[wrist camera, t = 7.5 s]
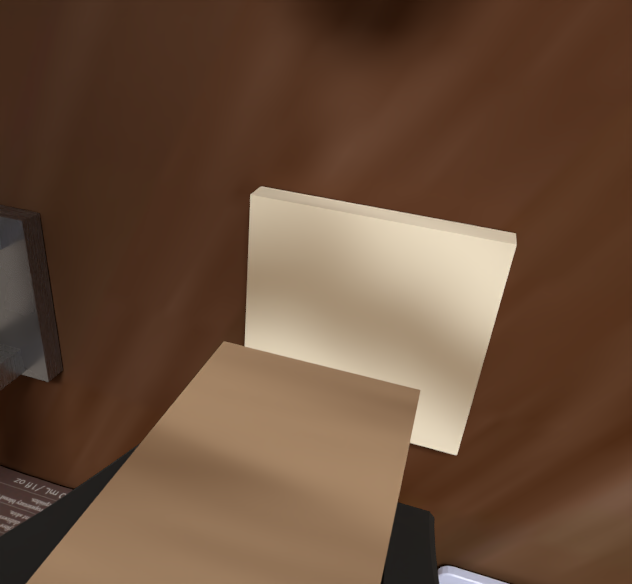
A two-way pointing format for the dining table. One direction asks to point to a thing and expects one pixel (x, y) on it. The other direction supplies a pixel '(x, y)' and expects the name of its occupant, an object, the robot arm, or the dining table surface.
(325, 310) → the birch pad
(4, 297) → the mounted unit
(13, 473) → the box
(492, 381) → the dining table surface
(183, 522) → the walnut block
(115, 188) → the dining table surface
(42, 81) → the dining table surface
